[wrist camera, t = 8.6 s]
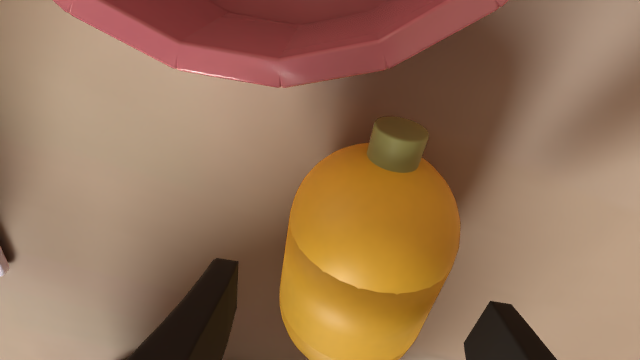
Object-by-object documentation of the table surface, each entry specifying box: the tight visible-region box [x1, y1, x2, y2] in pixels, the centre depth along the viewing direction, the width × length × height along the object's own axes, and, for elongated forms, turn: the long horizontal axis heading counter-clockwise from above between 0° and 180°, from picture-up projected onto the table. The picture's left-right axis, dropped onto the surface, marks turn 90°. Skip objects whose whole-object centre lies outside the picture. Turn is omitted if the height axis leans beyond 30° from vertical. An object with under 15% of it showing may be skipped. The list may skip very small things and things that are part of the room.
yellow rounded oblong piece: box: [280, 116, 461, 360], centre depth 12 cm, size 9×5×5 cm, turn 171°
